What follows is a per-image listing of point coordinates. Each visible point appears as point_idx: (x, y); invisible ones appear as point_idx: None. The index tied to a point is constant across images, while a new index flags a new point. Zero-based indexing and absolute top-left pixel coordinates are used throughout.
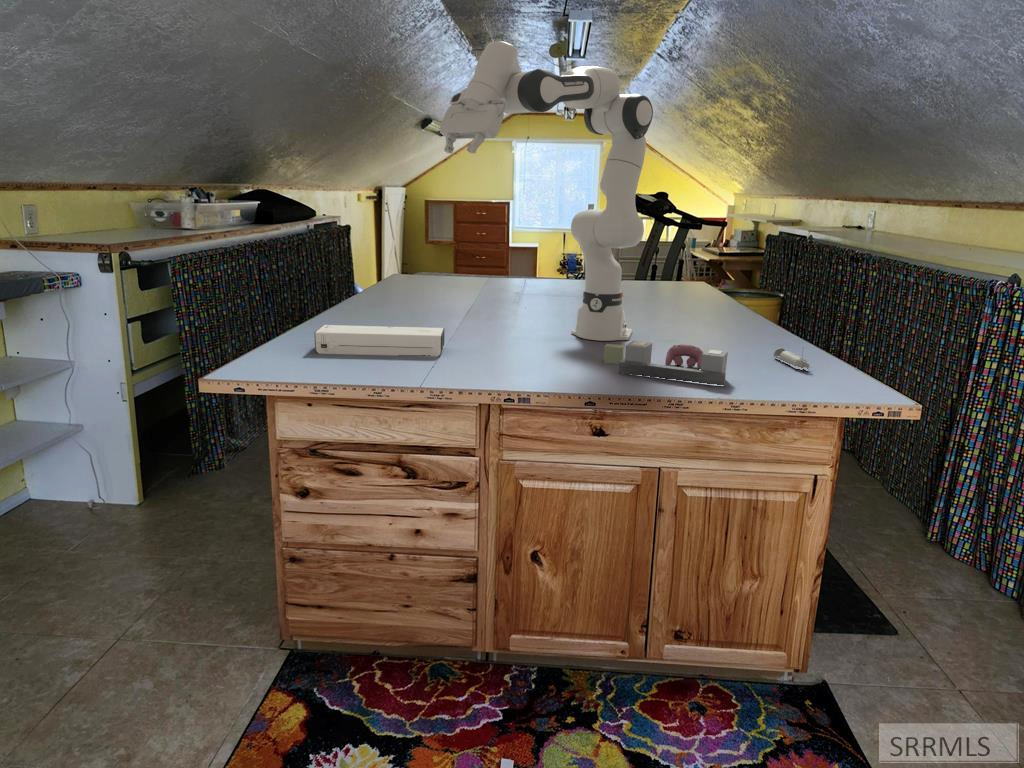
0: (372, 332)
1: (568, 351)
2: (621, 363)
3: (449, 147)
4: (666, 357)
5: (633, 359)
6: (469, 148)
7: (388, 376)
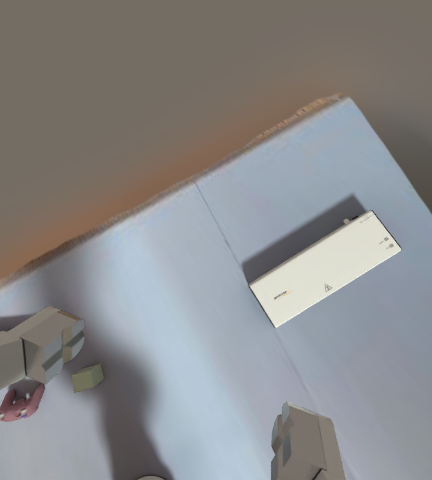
0: (321, 250)
1: (150, 393)
2: None
3: (287, 436)
4: (37, 393)
5: None
6: (54, 312)
7: (237, 191)
